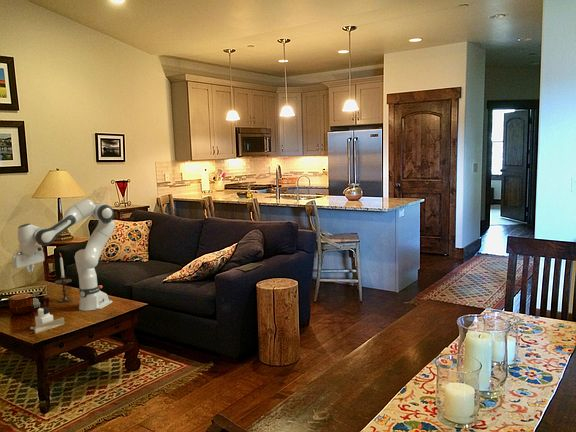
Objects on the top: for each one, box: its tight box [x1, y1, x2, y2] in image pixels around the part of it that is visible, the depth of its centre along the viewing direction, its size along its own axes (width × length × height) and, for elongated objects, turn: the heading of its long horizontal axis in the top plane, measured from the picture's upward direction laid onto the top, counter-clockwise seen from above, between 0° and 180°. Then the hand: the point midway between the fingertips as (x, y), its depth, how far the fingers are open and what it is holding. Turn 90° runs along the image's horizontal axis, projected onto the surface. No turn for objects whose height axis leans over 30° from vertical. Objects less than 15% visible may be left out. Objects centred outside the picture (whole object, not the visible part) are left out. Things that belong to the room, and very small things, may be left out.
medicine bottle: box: [34, 306, 54, 326], centre depth 287 cm, size 7×7×12 cm
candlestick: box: [54, 252, 73, 304], centre depth 338 cm, size 11×11×35 cm
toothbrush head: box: [33, 297, 41, 309], centre depth 335 cm, size 5×7×25 cm
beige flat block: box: [29, 317, 65, 335], centre depth 287 cm, size 11×18×4 cm, turn 148°
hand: (30, 272), depth 297 cm, fingers closed
